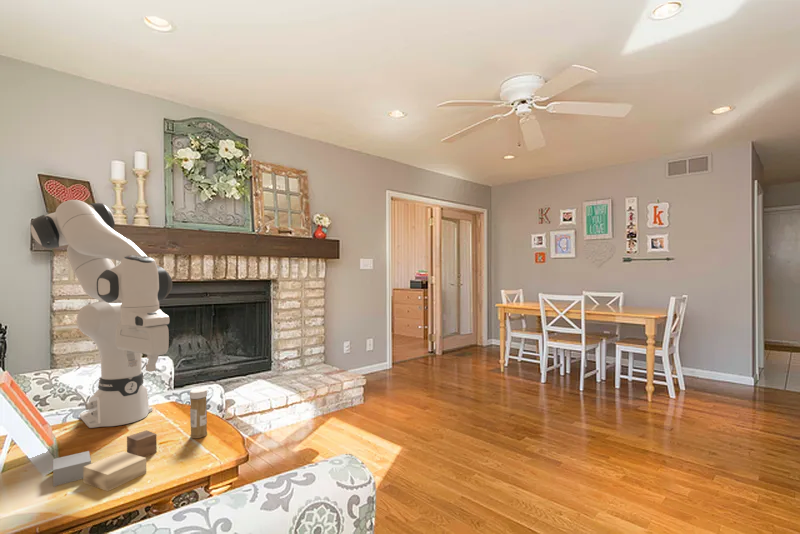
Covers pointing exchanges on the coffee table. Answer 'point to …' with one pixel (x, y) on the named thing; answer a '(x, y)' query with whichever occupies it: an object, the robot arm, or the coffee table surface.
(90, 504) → the coffee table surface
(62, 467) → the grey block
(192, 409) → the sprinkles bottle
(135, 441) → the walnut cube
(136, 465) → the oak block
